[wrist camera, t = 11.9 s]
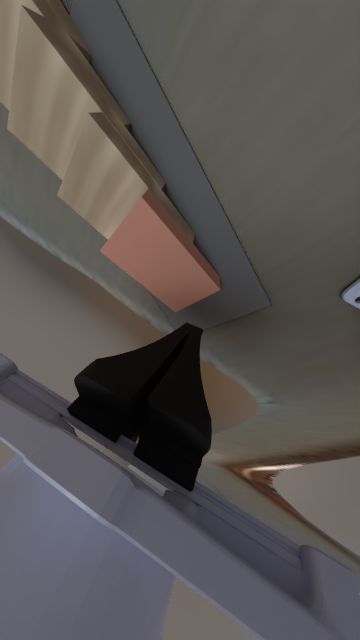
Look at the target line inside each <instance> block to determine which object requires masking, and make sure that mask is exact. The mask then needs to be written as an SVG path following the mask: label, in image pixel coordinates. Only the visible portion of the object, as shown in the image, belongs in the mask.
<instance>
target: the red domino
mask: <svg viewBox="0 0 360 640" xmlns="http://www.w3.org/2000/svg"><path fill="white" fill-rule="evenodd" d="M100 251H101V252H102V253H103V254H104V255H105V256H107V257H108V258H109V259H110V260H112V261H113V262H114V263H115V264H116V265H118V266H119V267H120V268H121V269H123V270H124V271H125V272H126V273H127V274H129V275H130V276H131V277H132V278H134V279H135V280H136V281H137V282H139V283H140V284H141V285H142V286H143V287H145V288H146V289H147V290H148V291H150V292H151V293H152V294H153V295H154V296H156V297H157V298H158V299H159V300H161V301H162V302H163V303H164V304H166V305H167V306H168V307H169V308H170V309H172V310H173V311H174V312H177V311H179V310H181V309H183V308H185V307H187V306H189V305H191V304H193V303H195V302H197V301H199V300H201V299H203V298H205V297H207V296H209V295H211V294H213V293H215V292H217V291H220V277H219V275H218V274H217V273H216V272H215V270H214V269H213V268H212V267H211V265H210V264H209V263H208V262H207V260H206V259H205V258H204V257H203V255H202V254H201V253H200V252H199V250H198V249H197V248H196V247H195V245H194V244H193V243H192V242H191V240H190V239H189V238H188V236H187V235H186V234H185V233H184V231H183V230H182V229H181V228H180V226H179V225H178V224H177V223H176V221H175V220H174V219H173V218H172V216H171V215H170V214H169V213H168V211H167V210H166V209H165V208H164V206H163V205H162V204H161V203H160V201H159V200H158V199H157V197H156V196H155V195H154V194H153V192H152V191H151V190H150V189H148V190H147V191H146V192H145V193H144V194H143V196H142V197H141V198H140V199H139V201H138V202H137V203H136V204H135V206H134V207H133V208H132V210H131V211H130V212H129V214H128V215H127V216H126V217H125V219H124V220H123V221H122V223H121V224H120V225H119V226H118V228H117V229H116V230H115V232H114V233H113V234H112V235H111V237H110V238H109V239H108V241H107V242H106V243H105V244H104V246H103V247H102V248H101V250H100Z"/></svg>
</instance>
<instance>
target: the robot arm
mask: <svg viewBox="0 0 360 640" xmlns="http://www.w3.org/2000/svg"><path fill="white" fill-rule="evenodd" d="M341 296H342V299H343V300H344V301H346V302H347V303H349V304H351V305H353V306H355V307H357V308H358V309H360V300H359V301H355V299H356V298H357V297H360V278H359V279H358V280H357V281H355V282H354V283H353V284H352V285H350V286H349V287H348V288H347V289H345V290H344V291H343V292H342V295H341ZM202 333H203V329H202V328H199V327H197V326H194V325H192V324H190V323H187V322H186V323H184V324H183V325H182V326H181V327H179V328H178V329H176V330H175V331H173V332H172V333H170V334H168V335H167V336H165V337H163V338H161V339H160V340H158V341H156V342H154V343H151V344H149V345H147V346H145V347H142V348H139V349H136V350H133V351H130V352H126V353H123V354H119V355H115V356H110V357H105V358H100V359H96V360H95V361H93V362H92V363H91V364H89V365H88V366H87V367H86V368H85V369H84V370H83V371H81V372H80V373H79V374H78V375H77V376H76V377H75V379H74V382H75V386H76V388H77V391H78V393H79V397H78V398H77V399H76V400H75V401H74V402H73V403H71V402H69V401H68V400H66V399H64V398H63V397H61V396H59V395H58V394H56V393H55V392H53V391H51V390H50V389H48V388H47V387H45V386H44V385H42V384H40V383H39V382H37V381H36V380H34V379H32V378H31V377H29V376H28V375H26V374H24V373H23V372H21V371H20V370H18V368H17V366H16V365H15V363H14V362H12V361H11V360H10V359H9V358H7V357H5V356H4V355H2V354H0V440H1V441H3V442H4V443H5V444H6V445H8V446H9V447H10V448H11V449H12V450H14V451H15V452H16V453H17V454H16V455H15V456H14V457H13V458H12V459H11V460H10V461H9V462H8V463H7V464H6V465H5V466H4V467H3V468H2V469H1V470H0V640H161V636H162V632H163V628H164V624H165V620H166V616H167V611H168V607H169V603H170V599H171V594H172V590H173V586H174V582H175V578H176V577H177V578H179V579H180V580H181V581H183V582H184V583H185V584H187V585H188V586H189V587H190V588H192V589H193V590H194V591H196V592H197V593H198V594H200V595H201V596H202V597H204V598H205V599H206V600H208V601H209V602H211V603H212V604H213V605H214V606H216V607H217V608H218V609H220V610H221V611H222V612H224V613H225V614H226V615H227V616H229V617H230V618H231V619H233V620H234V621H235V622H237V623H238V624H240V625H241V626H242V627H243V628H245V629H246V630H247V631H249V632H250V633H251V634H253V635H254V636H255V637H257V638H258V639H259V640H360V595H359V591H358V587H357V583H356V579H355V575H354V573H353V572H352V570H351V569H350V568H348V567H346V566H345V565H343V564H342V563H340V562H338V561H337V560H335V559H334V558H332V557H330V556H329V555H327V554H325V553H324V552H322V551H320V550H318V549H317V548H314V547H312V546H308V545H301V546H299V545H298V544H296V543H295V542H293V541H291V540H290V539H288V538H287V537H285V536H283V535H282V534H280V533H279V532H277V531H275V530H274V529H272V528H271V527H269V526H267V525H266V524H264V523H263V522H261V521H259V520H258V519H256V518H255V517H253V516H251V515H250V514H248V513H247V512H245V511H243V510H242V509H240V508H239V507H237V506H235V505H234V504H232V503H231V502H229V501H227V500H226V499H224V498H223V497H221V496H219V495H218V494H216V493H215V492H213V491H211V490H210V489H208V488H207V487H205V486H203V485H202V484H200V483H199V482H197V481H196V477H197V473H198V469H199V468H200V466H201V462H202V458H203V456H204V455H205V454H206V453H207V452H208V451H209V449H210V446H211V436H212V434H211V433H212V428H211V417H210V414H209V410H208V407H207V403H206V399H205V395H204V390H203V385H202V380H201V373H200V340H201V335H202ZM63 419H64V420H63ZM66 421H67V422H68V423H70V424H71V425H73V426H74V427H76V428H77V429H79V430H80V431H82V432H83V433H85V434H86V435H88V436H89V437H91V438H92V439H94V440H96V441H97V442H98V443H100V444H101V445H103V446H105V447H106V448H107V449H109V450H110V451H112V452H114V453H115V454H117V455H118V456H120V457H121V458H123V459H124V460H126V461H127V462H129V463H130V464H132V465H133V466H135V467H136V468H138V469H139V470H141V471H142V472H144V473H145V474H147V475H148V476H150V477H151V478H153V479H154V480H156V481H157V482H159V483H160V484H162V485H163V486H165V487H166V488H168V489H169V490H171V491H172V492H171V491H169V490H166V491H165V493H164V496H163V497H161V496H160V495H159V494H157V493H156V492H155V491H153V490H152V489H151V488H149V487H148V486H147V485H146V484H144V483H143V482H142V481H140V480H139V479H138V478H136V477H135V476H134V475H133V474H131V473H130V472H129V471H127V470H126V469H124V468H123V467H122V466H120V465H119V464H118V463H116V462H115V461H113V460H112V459H110V458H109V457H107V456H106V455H104V454H103V453H102V452H100V451H99V450H97V449H96V448H94V447H93V446H91V445H89V444H88V443H86V442H85V441H83V440H81V439H80V438H78V436H77V435H76V433H75V430H74V428H73V427H71V425H69V424H68V423H67V422H66ZM138 436H139V441H138V444H136V443H135V442H136V440H137V438H138ZM173 492H174V493H173Z"/></svg>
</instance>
